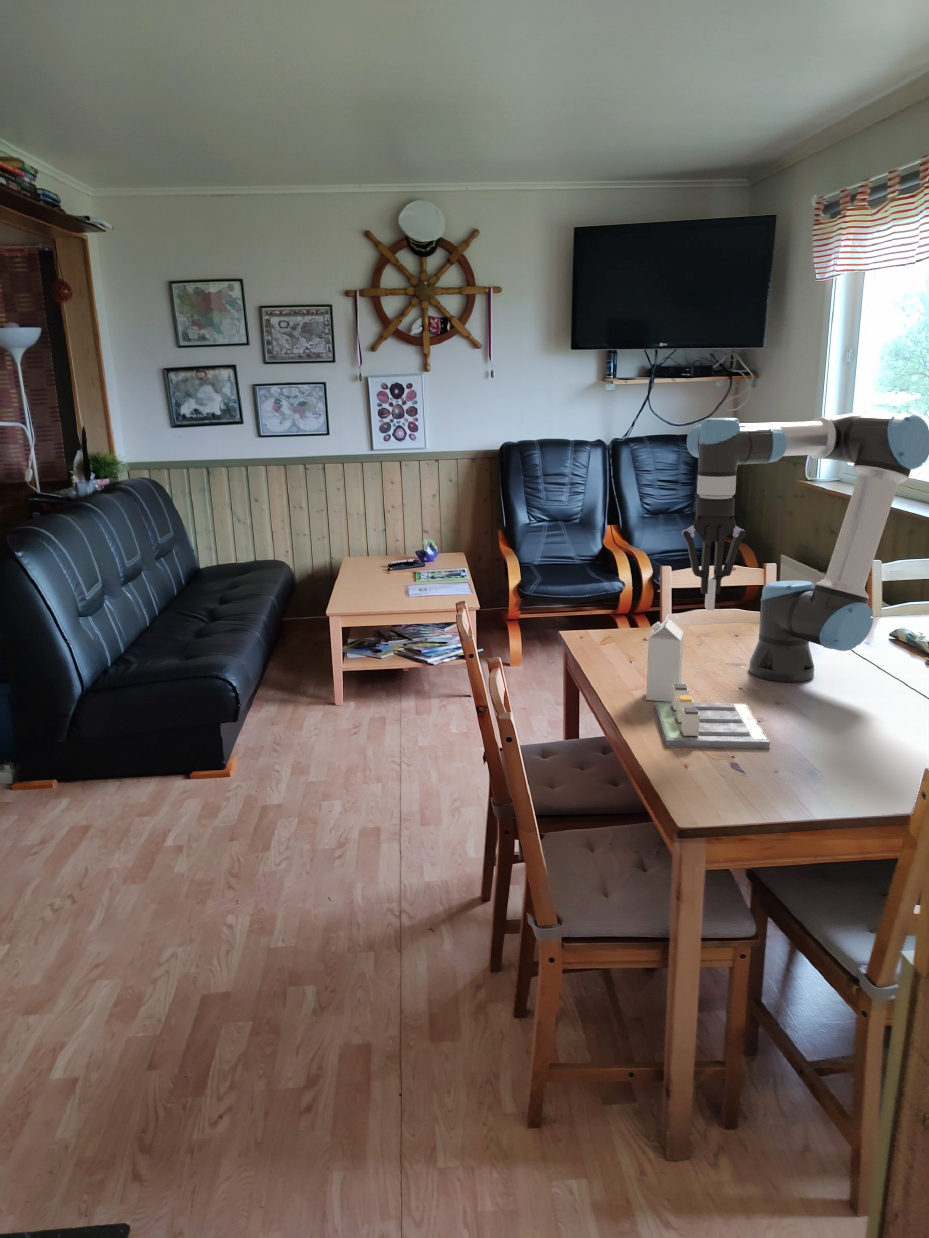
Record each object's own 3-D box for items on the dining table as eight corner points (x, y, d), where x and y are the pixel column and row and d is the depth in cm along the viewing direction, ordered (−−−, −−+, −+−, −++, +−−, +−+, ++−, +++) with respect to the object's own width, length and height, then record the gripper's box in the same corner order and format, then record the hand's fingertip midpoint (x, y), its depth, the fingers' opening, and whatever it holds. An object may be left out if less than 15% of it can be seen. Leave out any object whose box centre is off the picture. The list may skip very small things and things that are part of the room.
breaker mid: (690, 716, 181) (691, 694, 180) (692, 722, 179) (693, 699, 177) (676, 716, 182) (677, 694, 180) (678, 722, 179) (679, 699, 178)
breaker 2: (696, 729, 175) (697, 707, 173) (698, 735, 172) (699, 712, 170) (681, 729, 175) (682, 706, 174) (683, 735, 172) (684, 712, 171)
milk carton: (680, 693, 200) (684, 615, 195) (677, 703, 194) (681, 623, 189) (649, 690, 202) (652, 613, 197) (646, 700, 196) (648, 621, 191)
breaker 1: (685, 704, 188) (686, 683, 187) (687, 709, 185) (688, 688, 184) (671, 704, 188) (672, 683, 187) (673, 709, 186) (674, 688, 184)
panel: (745, 709, 189) (746, 702, 189) (769, 748, 169) (770, 741, 169) (654, 708, 191) (654, 701, 191) (666, 746, 171) (667, 739, 171)
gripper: (744, 493, 176) (737, 604, 182) (680, 494, 177) (675, 604, 184) (753, 498, 169) (745, 613, 175) (685, 498, 170) (680, 613, 176)
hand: (709, 608), depth 179 cm, fingers closed
